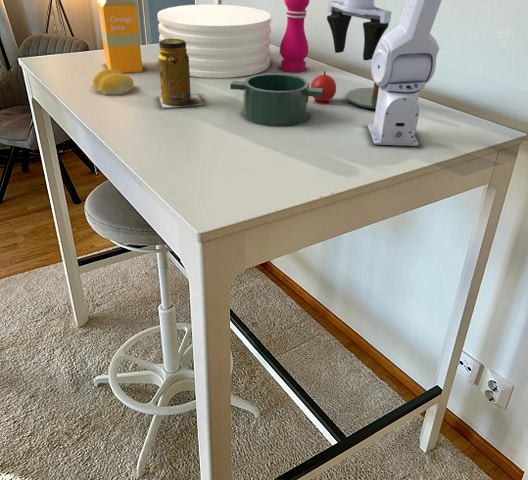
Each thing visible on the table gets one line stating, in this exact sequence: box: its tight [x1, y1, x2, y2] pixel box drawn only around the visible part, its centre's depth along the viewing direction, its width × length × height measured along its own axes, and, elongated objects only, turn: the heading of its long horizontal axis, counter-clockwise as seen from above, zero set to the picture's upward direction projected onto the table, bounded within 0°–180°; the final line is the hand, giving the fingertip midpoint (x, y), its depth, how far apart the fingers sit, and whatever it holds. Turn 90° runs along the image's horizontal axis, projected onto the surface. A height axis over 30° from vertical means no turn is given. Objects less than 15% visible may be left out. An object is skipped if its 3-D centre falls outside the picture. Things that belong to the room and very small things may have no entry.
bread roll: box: [92, 68, 134, 96], centre depth 120 cm, size 8×9×4 cm
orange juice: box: [96, 0, 144, 74], centre depth 130 cm, size 8×9×20 cm
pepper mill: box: [279, 0, 310, 73], centre depth 133 cm, size 7×7×20 cm
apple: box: [309, 70, 337, 105], centre depth 116 cm, size 6×6×6 cm
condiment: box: [158, 39, 204, 108], centre depth 112 cm, size 7×8×12 cm
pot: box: [229, 73, 323, 127], centre depth 108 cm, size 13×18×6 cm
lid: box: [345, 80, 379, 110], centre depth 118 cm, size 14×14×5 cm
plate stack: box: [157, 3, 272, 79], centre depth 138 cm, size 28×28×12 cm
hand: (353, 55), depth 113 cm, fingers open, 7 cm apart
